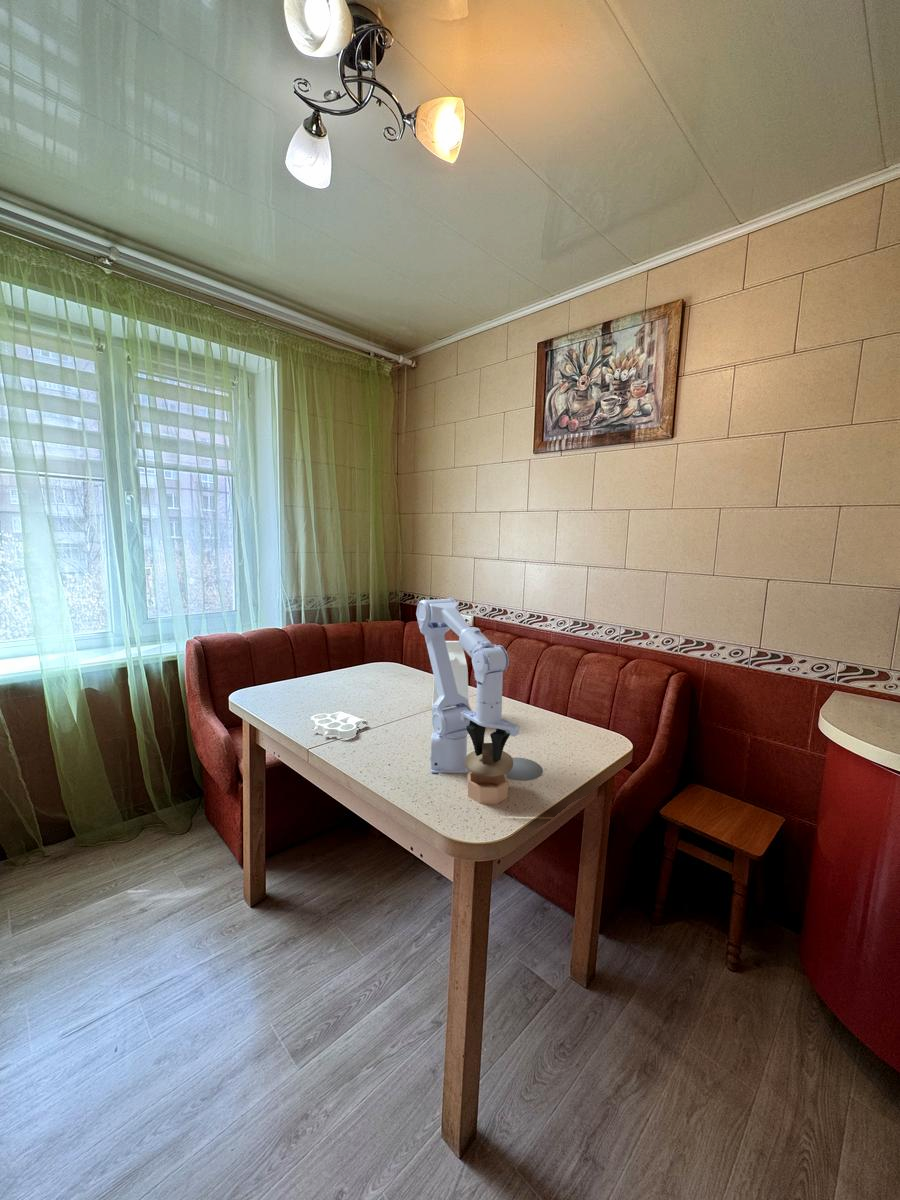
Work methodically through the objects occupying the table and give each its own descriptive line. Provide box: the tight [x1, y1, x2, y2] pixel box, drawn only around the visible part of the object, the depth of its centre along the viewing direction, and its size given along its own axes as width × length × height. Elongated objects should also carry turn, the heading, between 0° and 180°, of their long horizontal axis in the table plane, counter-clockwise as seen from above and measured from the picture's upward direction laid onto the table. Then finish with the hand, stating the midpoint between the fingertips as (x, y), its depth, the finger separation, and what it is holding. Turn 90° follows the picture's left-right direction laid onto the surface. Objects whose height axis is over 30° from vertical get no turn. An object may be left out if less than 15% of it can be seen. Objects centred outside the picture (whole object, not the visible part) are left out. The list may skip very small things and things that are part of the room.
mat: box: [506, 756, 544, 782], centre depth 115 cm, size 12×12×1 cm
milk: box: [431, 640, 470, 710], centre depth 148 cm, size 12×12×26 cm
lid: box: [465, 742, 514, 777], centre depth 103 cm, size 11×11×4 cm
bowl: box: [466, 771, 509, 805], centre depth 104 cm, size 9×9×4 cm
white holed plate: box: [310, 711, 369, 738], centre depth 139 cm, size 3×18×15 cm
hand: (488, 757), depth 103 cm, fingers closed on lid, 4 cm apart
